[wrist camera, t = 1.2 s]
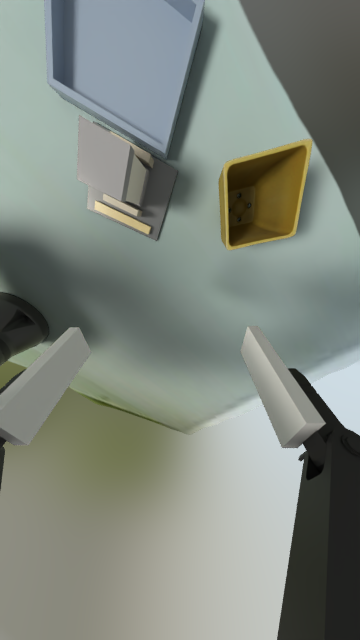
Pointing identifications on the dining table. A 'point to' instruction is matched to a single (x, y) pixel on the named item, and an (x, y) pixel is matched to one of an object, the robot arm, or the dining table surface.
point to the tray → (124, 61)
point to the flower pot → (263, 194)
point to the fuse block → (154, 200)
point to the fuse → (109, 164)
